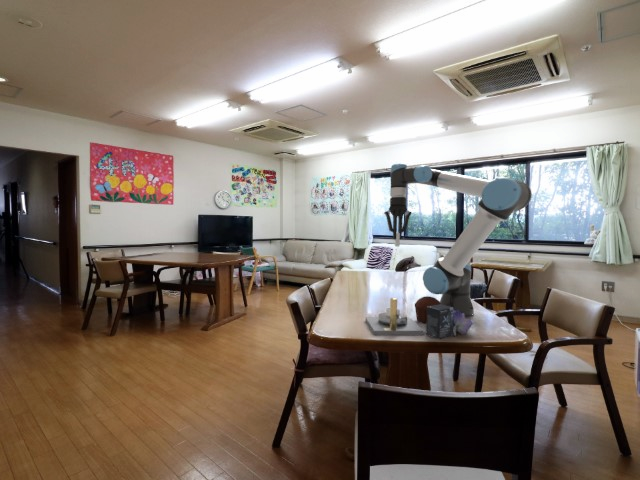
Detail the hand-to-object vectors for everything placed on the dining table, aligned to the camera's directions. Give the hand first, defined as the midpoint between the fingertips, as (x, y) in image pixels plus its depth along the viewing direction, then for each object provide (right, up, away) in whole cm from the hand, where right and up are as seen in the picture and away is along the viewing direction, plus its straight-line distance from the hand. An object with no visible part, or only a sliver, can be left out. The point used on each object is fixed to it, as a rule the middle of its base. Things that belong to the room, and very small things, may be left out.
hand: (397, 246), depth 158 cm
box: (+6, -32, -39) cm, 51 cm away
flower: (+14, -32, -37) cm, 51 cm away
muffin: (+8, -31, -22) cm, 39 cm away
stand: (-9, -31, -31) cm, 45 cm away
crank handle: (-9, -29, -32) cm, 44 cm away
